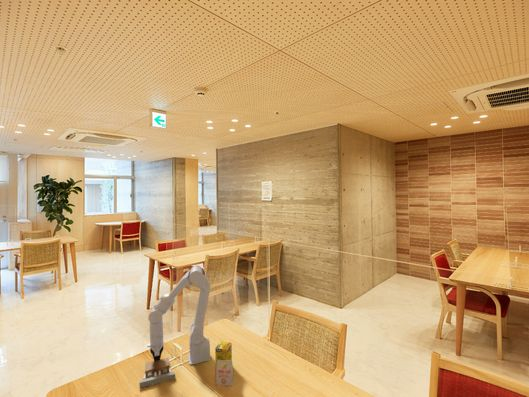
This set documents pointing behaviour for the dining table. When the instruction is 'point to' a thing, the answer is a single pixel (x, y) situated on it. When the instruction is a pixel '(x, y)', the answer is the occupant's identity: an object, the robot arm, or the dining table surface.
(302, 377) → the dining table surface
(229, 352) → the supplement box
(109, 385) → the dining table surface
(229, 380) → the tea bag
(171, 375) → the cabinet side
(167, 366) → the brown flat block
